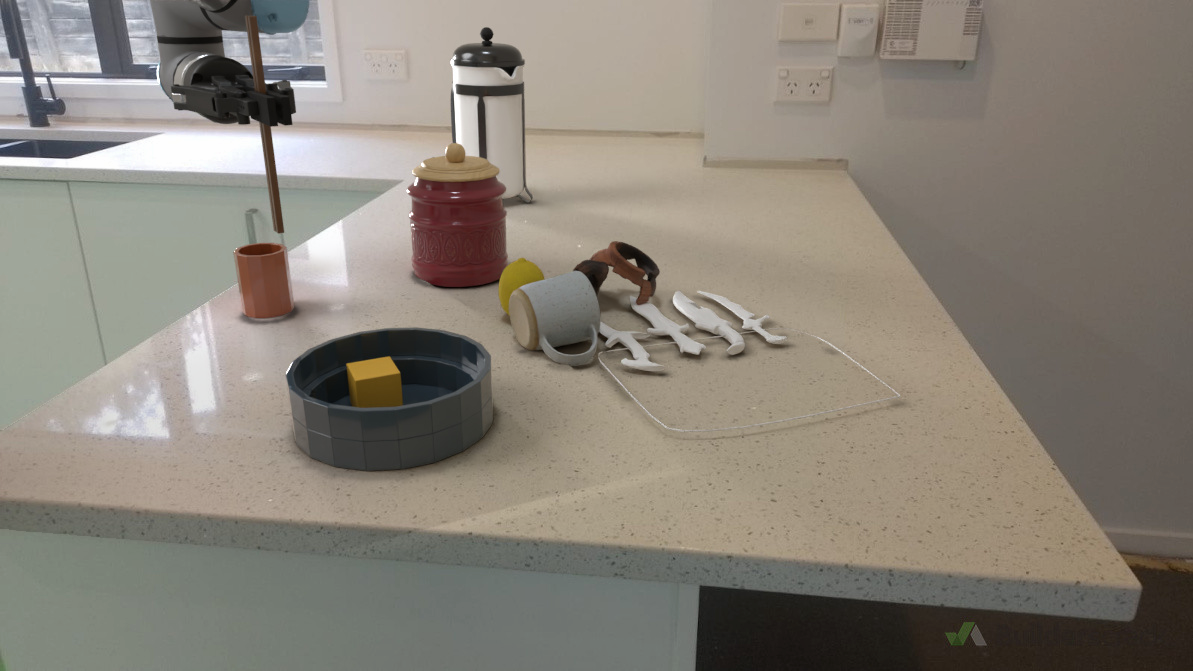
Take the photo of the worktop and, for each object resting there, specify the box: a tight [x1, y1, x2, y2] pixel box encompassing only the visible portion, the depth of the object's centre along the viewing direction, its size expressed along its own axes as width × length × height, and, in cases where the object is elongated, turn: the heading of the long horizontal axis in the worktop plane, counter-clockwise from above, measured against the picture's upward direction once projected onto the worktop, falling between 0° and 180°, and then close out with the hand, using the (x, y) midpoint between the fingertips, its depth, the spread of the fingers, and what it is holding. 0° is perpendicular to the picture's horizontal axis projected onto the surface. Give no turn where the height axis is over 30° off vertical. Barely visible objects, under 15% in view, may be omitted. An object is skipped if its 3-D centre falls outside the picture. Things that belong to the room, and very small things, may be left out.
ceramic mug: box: [508, 270, 602, 367], centre depth 90 cm, size 11×8×8 cm
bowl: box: [285, 326, 494, 472], centre depth 74 cm, size 17×17×6 cm
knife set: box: [597, 290, 901, 433], centre depth 91 cm, size 26×35×1 cm
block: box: [346, 357, 403, 408], centre depth 76 cm, size 4×4×4 cm
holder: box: [232, 242, 295, 319], centre depth 98 cm, size 6×6×8 cm
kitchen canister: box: [406, 142, 509, 288], centre depth 112 cm, size 13×13×18 cm
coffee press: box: [449, 26, 534, 204], centre depth 149 cm, size 17×16×30 cm
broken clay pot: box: [572, 240, 661, 305], centre depth 104 cm, size 12×10×8 cm
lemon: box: [497, 257, 546, 317], centre depth 97 cm, size 6×6×8 cm
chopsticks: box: [245, 16, 285, 234], centre depth 87 cm, size 1×2×22 cm, turn 37°
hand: (279, 111), depth 82 cm, fingers closed on chopsticks, 1 cm apart
